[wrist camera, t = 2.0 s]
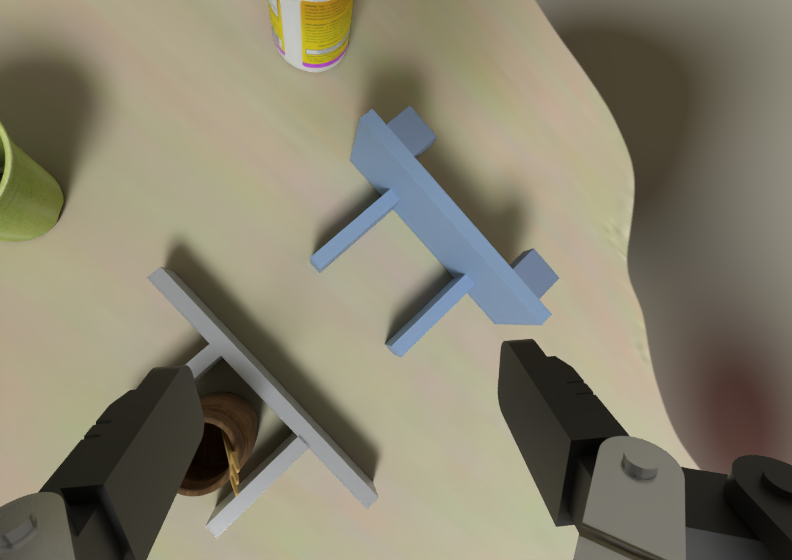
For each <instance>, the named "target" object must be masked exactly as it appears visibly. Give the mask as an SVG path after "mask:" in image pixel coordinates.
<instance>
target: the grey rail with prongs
mask: <svg viewBox="0 0 792 560" xmlns="http://www.w3.org/2000/svg"><path fill="white" fill-rule="evenodd" d="M147 278H148V279H149V281H150V282H151V283H152V284H153V285H154V286H155V287H156V288H157V289H158V290H159V291H160V292H161V293H162V294H163V295H164V296H165V297H166V298H167V299H168V300H169V302H170V303H171V304H172V305H173V306H174V307H175V308H176V309H177V310H178V311H179V312H180V313H181V314H182V315H183V316H184V317H185V318H186V319H187V320H188V322H189V323H190V324H191V325H192V326H193V327H194V328H195V329H196V330H197V331H198V332H199V333H200V334H201V335H202V336H203V337H204V338H205V339H206V340H207V341H208V343H209V345H208V346H206V347H205V348H204V349H203V350H202V351H201V352H199V353H198V354H197V355H196V356H195V357H194V358H192V359H191V360H190V361H189V362H188V363H187V364H185V365H187V366H189V367H190V369H191V371H192V373H193V377H194V381H197V380H198V379H199V378H200V377H201V376H202V375H203V374H205V373H206V372H207V371H208V370H209V369H210V368H212V367H213V366H214V365H215V364H216V363H217V362H218V361H220V360H221V359H222V358H224V359H225V360H226V361H227V363H228V364H229V365H230V366H231V367H232V368H233V369H234V370H235V371H236V372H237V373H238V374H239V375H240V376H241V377H242V378H243V379H244V380H245V381H246V383H247V384H248V385H249V386H250V387H251V388H252V389H253V390H254V391H255V392H256V393H257V394H258V395H259V396H260V397H261V398H262V399H263V400H264V401H265V402H266V404H267V405H268V406H269V407H270V408H271V409H272V410H273V411H274V412H275V413H276V414H277V415H278V416H279V417H280V418H281V419H282V420H283V421H284V422H285V424H286V425H287V426H288V427H289V428H290V429H291V430H292V431H293V433H292V434H291V435H290V436H289V437H288V438H287V439H286V440H285V441H284V442H283V443H282V444H281V445H280V446H278V447H277V448H276V449H275V450H274V451H273V452H272V453H271V454H270V455H269V456H268V457H267V458H266V459H265V460H264V461H263V462H262V463H261V464H260V465H259V466H258V467H257V468H256V469H255V470H254V471H253V472H251V473H250V474H249V475H248V476H247V477H246V478H245V479H244V480H243V481H242V482H241V483H240V484H239V485H238V491H239V495H238V497H236V496H235V494H234V491H232V492H231V493H230V494H229V495H228V496H227V497H225V498H224V499H223V500H222V501H221V502H220V503H219V504H218V505H217V506H216V507H215V509H214V511H213V512H212V514H211V516H210V518H209V520H208V522H207V524H206V527H207V528H208V529H209V530H210V531H211V532H212V533H213V534H214V535H215V536H216V537H217V538H218V537H219V536H220V535H221V534H222V533H223V532H224V531H225V530H226V529H227V528H228V527H229V526H230V525H231V524H232V523H233V522H234V521H235V520H236V519H237V518H238V517H239V516H240V515H241V514H242V513H243V512H244V511H245V510H246V509H247V508H248V507H249V506H250V505H251V504H252V503H253V502H254V501H255V500H256V499H257V498H258V497H259V496H260V495H261V494H262V493H263V492H264V491H265V490H266V489H268V488H269V487H270V486H271V485H272V484H273V483H274V482H275V481H276V480H277V479H278V478H279V477H280V476H281V475H282V474H283V473H284V472H285V471H286V470H287V469H288V468H289V467H290V466H291V465H292V464H293V463H294V462H295V461H296V460H297V459H298V458H299V457H300V456H301V455H302V454H303V453H304V452H305V451H306V450H307V449H308V448H309V449H310V450H311V451H312V452H313V453H314V454H315V455H316V456H317V457H318V458H319V459H320V460H321V461H322V462H323V463H324V465H325V466H326V467H327V468H328V469H329V470H330V471H331V472H332V473H333V474H334V475H335V476H336V477H337V478H338V479H339V480H340V481H341V482H342V483H343V485H344V486H345V487H346V488H347V489H348V490H349V491H350V492H351V493H352V494H353V495H354V496H355V497H356V498H357V499H358V500H359V501H360V502H361V503H362V504H363V506H364V507H365V508H366V509H368V508H369V507H370V506H371V505H372V504H373V503H374V502H375V501H376V500H377V498H378V495H377V492H376V489H375V486H374V484H373V482H372V481H371V480H370V479H369V478H368V477H367V476H366V475H365V473H364V472H363V471H362V470H361V469H360V468H359V467H358V466H357V465H356V464H355V463H354V462H353V461H352V460H351V459H350V458H349V457H348V455H347V454H346V453H345V452H344V451H343V450H342V449H341V448H340V447H339V446H338V445H337V444H336V443H335V442H334V441H333V440H332V439H331V437H330V436H329V435H328V434H327V433H326V432H325V431H324V430H323V429H322V428H321V427H320V426H319V425H318V424H317V423H316V422H315V421H314V419H313V418H312V417H311V416H310V415H309V414H308V413H307V412H306V411H305V410H304V409H303V408H302V407H301V406H300V405H299V404H298V402H297V401H296V400H295V399H294V398H293V397H292V396H291V395H290V394H289V393H288V392H287V391H286V390H285V389H284V388H283V387H282V386H281V384H280V383H279V382H278V381H277V380H276V379H275V378H274V377H273V376H272V375H271V374H270V373H269V372H268V371H267V370H266V369H265V368H264V366H263V365H262V364H261V363H260V362H259V361H258V360H257V359H256V358H255V357H254V356H253V355H252V354H251V353H250V352H249V351H248V350H247V348H246V347H245V346H244V345H243V344H242V343H241V342H240V341H239V340H238V339H237V338H236V337H235V336H234V335H233V334H232V333H231V332H230V330H229V329H228V328H227V327H226V326H225V325H224V324H223V323H222V322H221V321H220V320H219V319H218V318H217V317H216V316H215V315H214V314H213V312H212V311H211V310H210V309H209V308H208V307H207V306H206V305H205V304H204V303H203V302H202V301H201V300H200V299H199V298H198V297H197V296H196V294H195V293H194V292H193V291H192V290H191V289H190V288H189V287H188V286H187V285H186V284H185V283H184V282H183V281H182V280H181V279H180V278H179V276H178V275H177V274H176V273H175V272H174V271H171V270H168V269H165V268H162V267H160V268H158V269H157V270H156V271H155V272H153V273H152V274H151V275H150V276H148V277H147Z"/></svg>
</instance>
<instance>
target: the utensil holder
mask: <svg viewBox="0 0 792 560" xmlns="http://www.w3.org/2000/svg"><path fill="white" fill-rule="evenodd" d="M199 399H200V403H201V406H202V410H203V414H204V432H203V436H202V439H201V442H200V444H199V446H198V448H197V451H196V453H195V455H194V457H193V459H192V461H191V464H190V466H189V468H188V470H187V472H186V474H185V477H184V479H183V481H182V483H181V485H180V487H179V490H178V492H177V493H178V494H181V495H185V496H201V495H205V494H208V493H211V492H213V491H215V490H217V489H218V488H220V487H221V486H223V485H224V484H225V483H226V482H228V481H229V480H230V481H231V484H232V487H233V491H234V494H235V496H236V497H238V495H239V491H238V484H239V477H238V473H239V471H240V469H241V468H242V467H243V466H244V464H245V463H246V461H247V459H248V458H249V456H250V454H251V451H252V449H253V447H254V445H255V442H256V439H257V435H258V419H257V415H256V413H255V411H254V409H253V407H252V406H251V404H250V403H249V402H248V401H247V400H245V399H244V398H243V397H241V396H239V395H237V394H234V393H230V392H216V393H211V394H208V395H205V396H203V397H201V398H199Z"/></svg>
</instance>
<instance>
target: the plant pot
mask: <svg viewBox="0 0 792 560" xmlns="http://www.w3.org/2000/svg"><path fill="white" fill-rule="evenodd" d="M1 173H4V174H3V177H2V179H0V240H1V241H26V240H30V239H34V238H36V237H39V236H41V235H43V234H44V233H46V232H47V231H49V230H50V229H51V228H52V227H53V226H54V225H55V224H56V222H57V221H58V217H59V214H60V210H61V208H62V205H63V202H64V201H63V194H62V190H61V188H60V186H59V184H58V182H57V181H56V180H55V179H54V178H53V177H52V176H51V175H50V174H49V173H48V172H47V171H46V170H45V169H43V168H42V167H41V166H40V165H39V164H38V163H36V162H35V161H34V160H33V159H32V158H31V157H29V156H28V155H27V154H26V153H25V152H24V151H22V150H21V149H20V148H19V147H18V146H17V145H16V144H15V143H13V142H12V141H11V139H10V137H9V135H8V133H7V131H6V129H5V127H4V126H3V124H2V123H1V121H0V174H1Z"/></svg>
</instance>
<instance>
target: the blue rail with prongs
mask: <svg viewBox="0 0 792 560" xmlns="http://www.w3.org/2000/svg"><path fill="white" fill-rule="evenodd" d="M436 138H437V136H436V135H435V134H434V132H433V131H432V130H431V129H430V128H429V127H428V125H427V124H426V123H425V122H424V121H423V120H422V119H421V117H420V116H419V115H418V114H417V113H416V112H415V110H414V109H413V108H412V107H411V106H409V107H407V108H406V109H405V110H404V111H402V112H401V113H400V114H399V115H398V116H396V117H395V118H394V119H393V120H391V121H390V122H389V123H388V124H385V122H384V121H383V120H382V119H381V118H380V117H379V116H378V114H377V113H376V112H375V111H374V110H373V109H371V110H370V111H369V112H367V113H366V114H365V115H363V116H362V117H361V118H360V120H359V125H358V129H357V133H356V137H355V141H354V146H353V150H352V154H351V158H350V161H351V162H352V163H353V164H354V166H355V167H356V168H357V169H358V170H359V171H360V172H361V174H362V175H363V176H364V177H365V178H366V179H367V180H368V181H369V183H370V184H371V185H372V186H373V187H374V188H375V189H376V190H377V192H378V193H379V194H380V195H381V197H380V198H379V199H378V200H377V201H376V202H374V203H373V204H372V205H371V206H370V207H369V208H367V209H366V210H365V211H364V212H363V213H362V214H360V215H359V216H358V217H357V218H356V219H355V220H353V221H352V222H351V223H350V224H349V225H348V226H346V227H345V228H344V229H343V230H342V231H341V232H339V233H338V234H337V235H336V236H335V237H334V238H332V239H331V240H330V241H329V242H328V243H327V244H325V245H324V246H323V247H322V248H321V249H320V250H318V251H317V252H316V253H315V254H314V255H313V256H311V257H310V263H311V264H312V265H313V266H314V267H315V268H316V270H317V271H318V272H319V273H320V272H322V271H323V270H324V269H325V268H326V267H327V266H328V265H330V264H331V263H332V262H333V261H334V260H335V259H336V258H338V257H339V256H340V255H341V254H342V253H343V252H344V251H346V250H347V249H348V248H349V247H350V246H351V245H352V244H354V243H355V242H356V241H357V240H358V239H359V238H360V237H362V236H363V235H364V234H365V233H366V232H367V231H368V230H370V229H371V228H372V227H373V226H374V225H375V224H377V223H378V222H379V221H380V220H381V219H382V218H383V217H385V216H386V215H387V214H388V213H389V212H390V211H391V210H394V211H395V212H396V213H397V214H398V215H399V216H400V218H401V219H402V220H403V221H404V222H405V223H406V224H407V225H408V227H409V228H410V229H411V230H412V231H413V232H414V233H415V234H416V236H417V237H418V238H419V239H420V240H421V241H422V242H423V243H424V245H425V246H426V247H427V248H428V249H429V250H430V251H431V252H432V254H433V255H434V256H435V257H436V258H437V259H438V260H439V261H440V263H441V264H442V265H443V266H444V267H445V268H446V269H447V271H448V272H449V273H450V274H451V275H452V276H453V277H454V278H453V279H452V280H451V281H450V282H449V283H448V284H447V285H446V286H445V287H444V288H443V289H442V290H441V291H440V292H439V293H438V294H437V295H435V296H434V297H433V298H432V299H431V300H430V301H429V302H428V303H427V304H426V305H425V306H424V307H423V308H422V309H421V310H420V311H419V312H418V313H417V314H416V315H415V316H414V317H413V318H412V319H411V320H409V321H408V322H407V323H406V324H405V325H404V326H403V327H402V328H401V329H400V330H399V331H398V332H397V333H396V334H395V335H394V336H393V337H392V338H391V339H390V340H389V341H388V342H387V343H386V344H385V345H386V346H387V347H388V348H389V349H390V351H391V352H392V353H393V354H394V355H397V356H399V357H402V356H403V355H404V354H405V353H406V352H407V351H408V350H409V349H410V348H411V347H412V346H413V345H414V344H415V343H416V342H417V341H418V340H419V339H420V338H421V337H422V336H423V335H424V334H425V333H426V332H427V331H428V330H429V329H430V328H431V327H432V326H433V325H434V324H435V323H437V322H438V321H439V320H440V319H441V318H442V317H443V316H444V315H445V314H446V313H447V312H448V311H449V310H450V309H451V308H452V307H453V306H454V305H455V304H456V303H457V302H458V301H459V300H460V299H461V298H462V297H463V296H464V295H465V294H466V293H468V294H469V295H470V296H471V298H472V299H473V300H474V301H475V302H476V303H477V304H478V305H479V307H480V308H481V309H482V310H483V311H484V312H485V313H486V315H487V316H488V317H489V318H490V319H491V320H492V321H493V322H494V324H514V325H542V324H543V323H544V322H545V321H546V320H547V319H548V318H549V317H550V316H551V315H552V314H551V313H550V312H549V310H548V309H547V308H546V307H545V306H544V305H543V303H542V302H541V301H540V300H539V299H540V298H541V297H542V296H543V295H544V293H545V292H546V291H547V290H548V289H549V288H550V287H551V286H552V285H553V284H554V283H555V282H556V281H557V280H558V279H559V277H558V276H557V275H556V274H555V272H554V271H553V270H552V269H551V268H550V267H549V265H548V264H547V263H546V262H545V261H544V260H543V259H542V257H541V256H540V255H539V254H538V253H537V252H536V250H535V249H534V248H533V249H530V250H527V251H524V252H522V253H521V254H520V255H519V256H518V257H517V258H516V259H515V260H514V261H513V262H512V263H511V264H510V265H508V263H507V262H506V261H505V260H504V259H503V258H502V257H501V255H500V254H499V253H498V252H497V251H496V250H495V248H494V247H493V246H492V245H491V244H490V243H489V242H488V240H487V239H486V238H485V237H484V236H483V235H482V234H481V232H480V231H479V230H478V229H477V228H476V227H475V226H474V224H473V223H472V222H471V221H470V220H469V219H468V218H467V216H466V215H465V214H464V213H463V212H462V211H461V210H460V208H459V207H458V206H457V205H456V204H455V203H454V202H453V200H452V199H451V198H450V197H449V196H448V195H447V193H446V192H445V191H444V190H443V189H442V188H441V187H440V185H439V184H438V183H437V182H436V181H435V180H434V179H433V177H432V176H431V175H430V174H429V173H428V172H427V171H426V169H425V168H424V167H423V166H422V165H421V164H420V163H419V161H418V160H417V159H416V158H417V157H418V156H419V155H421V154H422V153H423V152H424V151H425V150H427V149H428V148H429V147H430V146H431V145H432V144H433V142H434V141H435V139H436Z"/></svg>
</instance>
